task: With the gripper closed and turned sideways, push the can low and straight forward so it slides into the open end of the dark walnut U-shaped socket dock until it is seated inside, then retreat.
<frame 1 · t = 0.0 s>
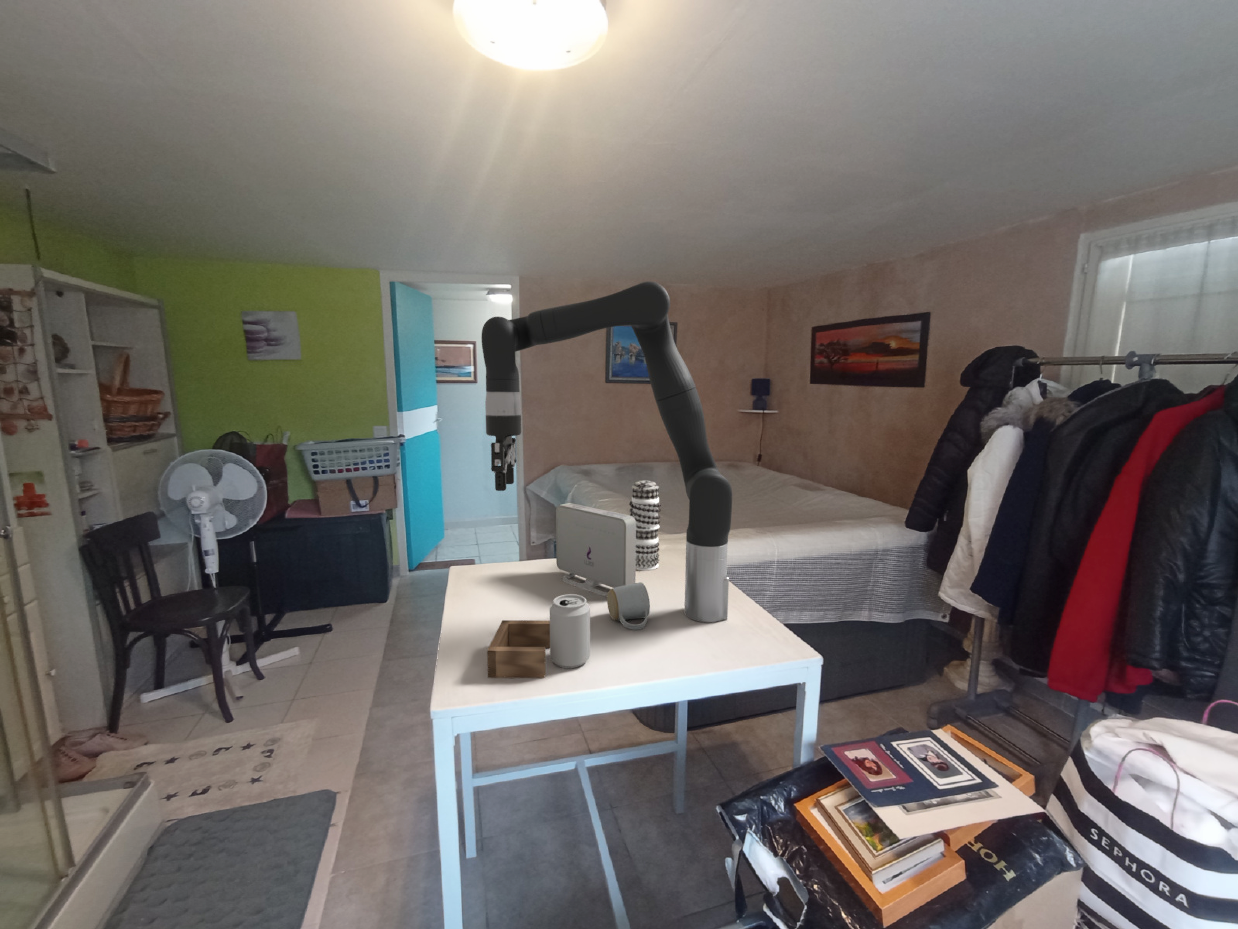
hand: (505, 487, 115), 29 cm above the table, fingers open, 8 cm apart
ceramic mug: (631, 621, 117), on the table
can: (570, 661, 99), on the table
decorative candle: (644, 566, 153), on the table
dock: (522, 659, 99), on the table
network device: (594, 584, 138), on the table
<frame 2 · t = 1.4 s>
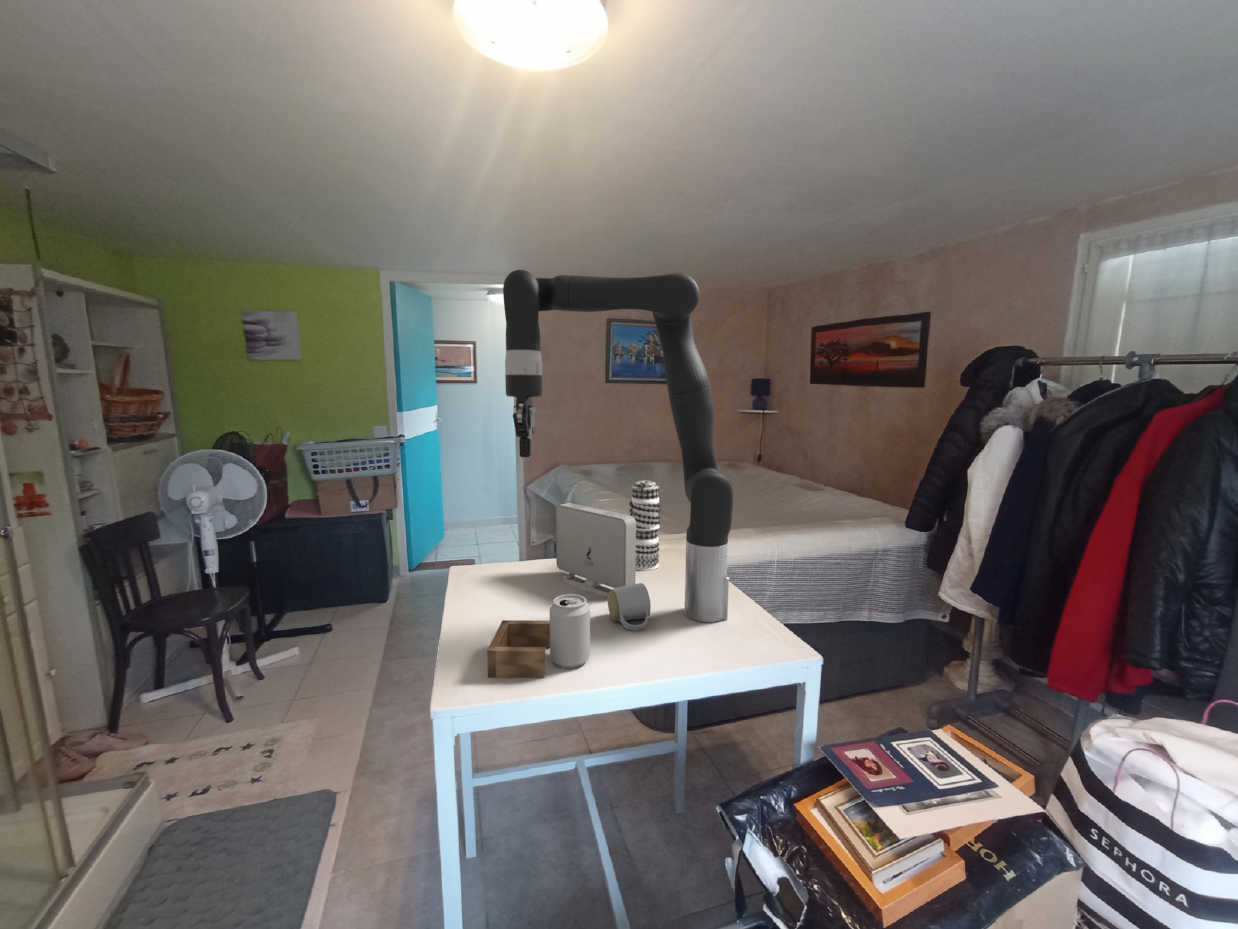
hand: (525, 456, 110), 37 cm above the table, fingers closed
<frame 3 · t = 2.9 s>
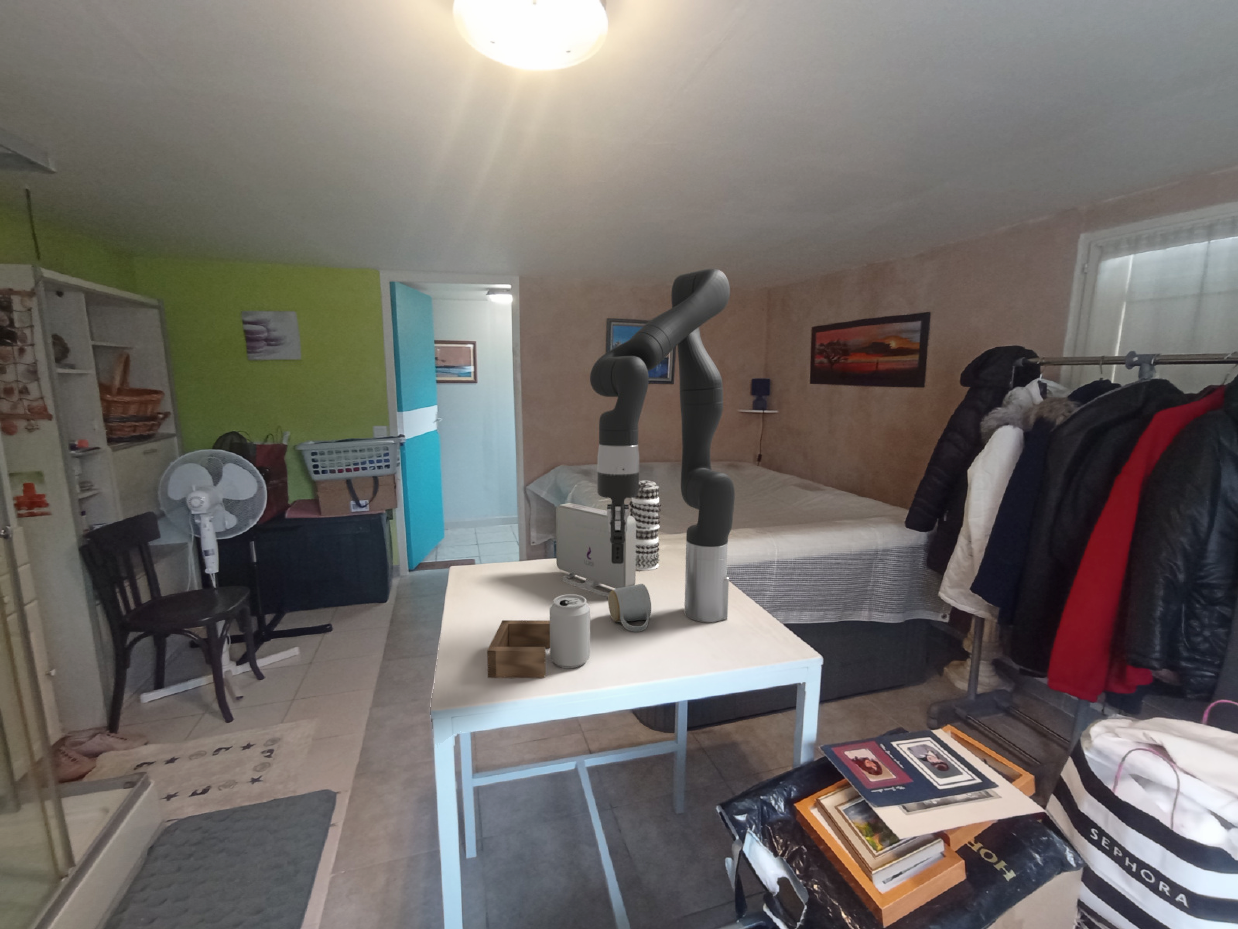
hand: (617, 562, 96), 19 cm above the table, fingers closed
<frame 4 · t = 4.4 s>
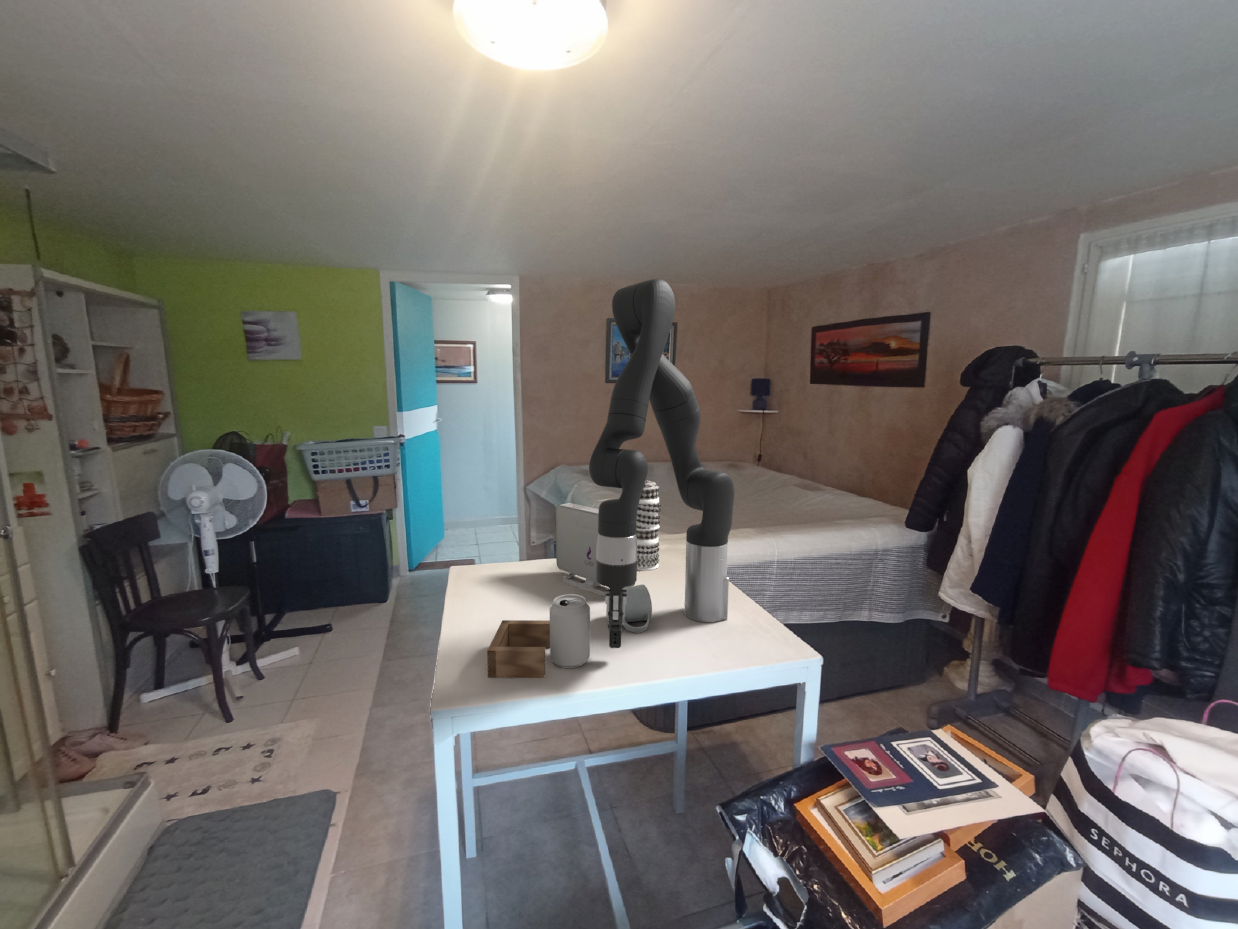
hand: (615, 646, 98), 3 cm above the table, fingers closed
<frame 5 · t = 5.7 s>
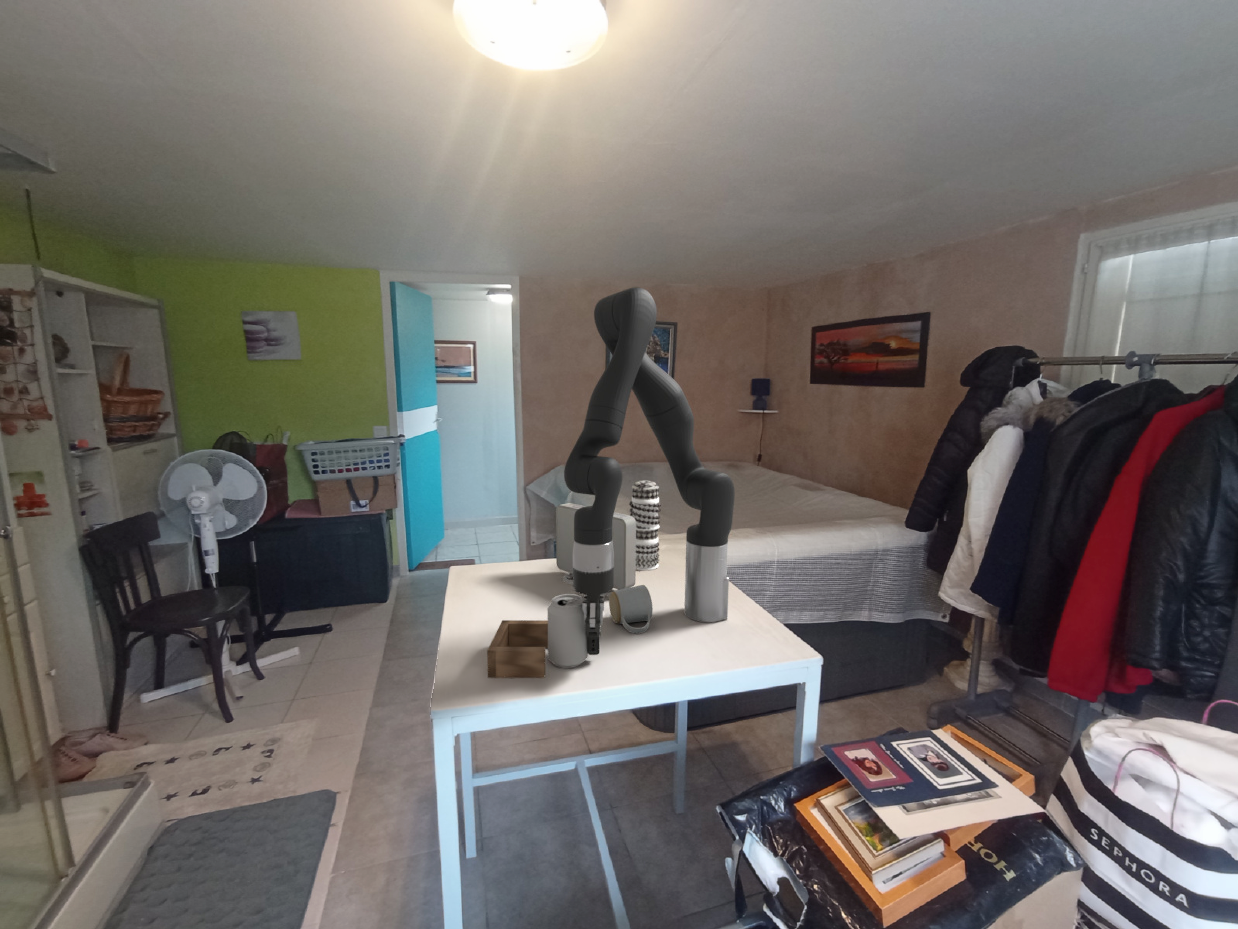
hand: (593, 652, 98), 2 cm above the table, fingers closed
can: (568, 661, 99), on the table, touching gripper
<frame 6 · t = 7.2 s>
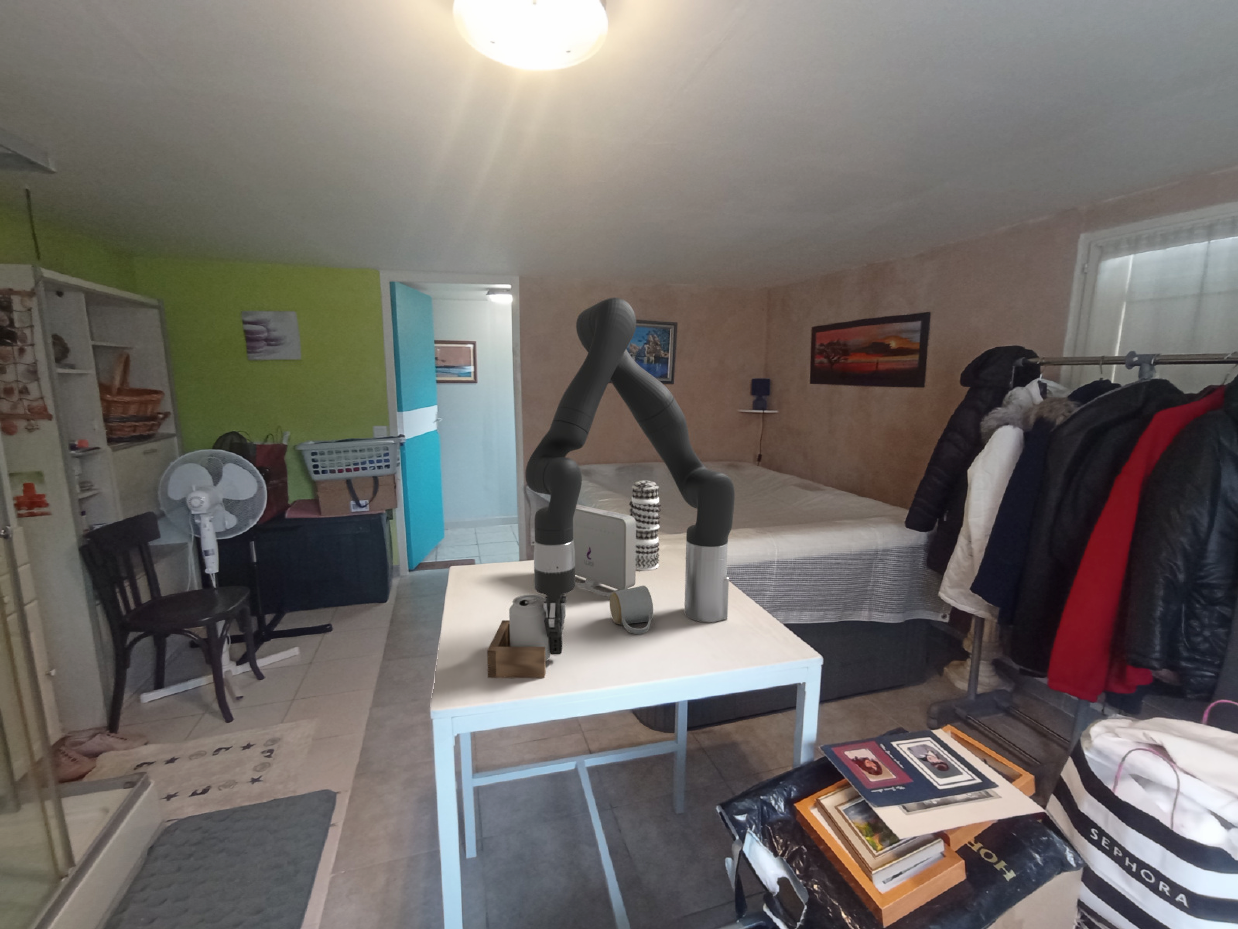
hand: (556, 652, 99), 1 cm above the table, fingers closed
can: (530, 661, 99), on the table, touching gripper
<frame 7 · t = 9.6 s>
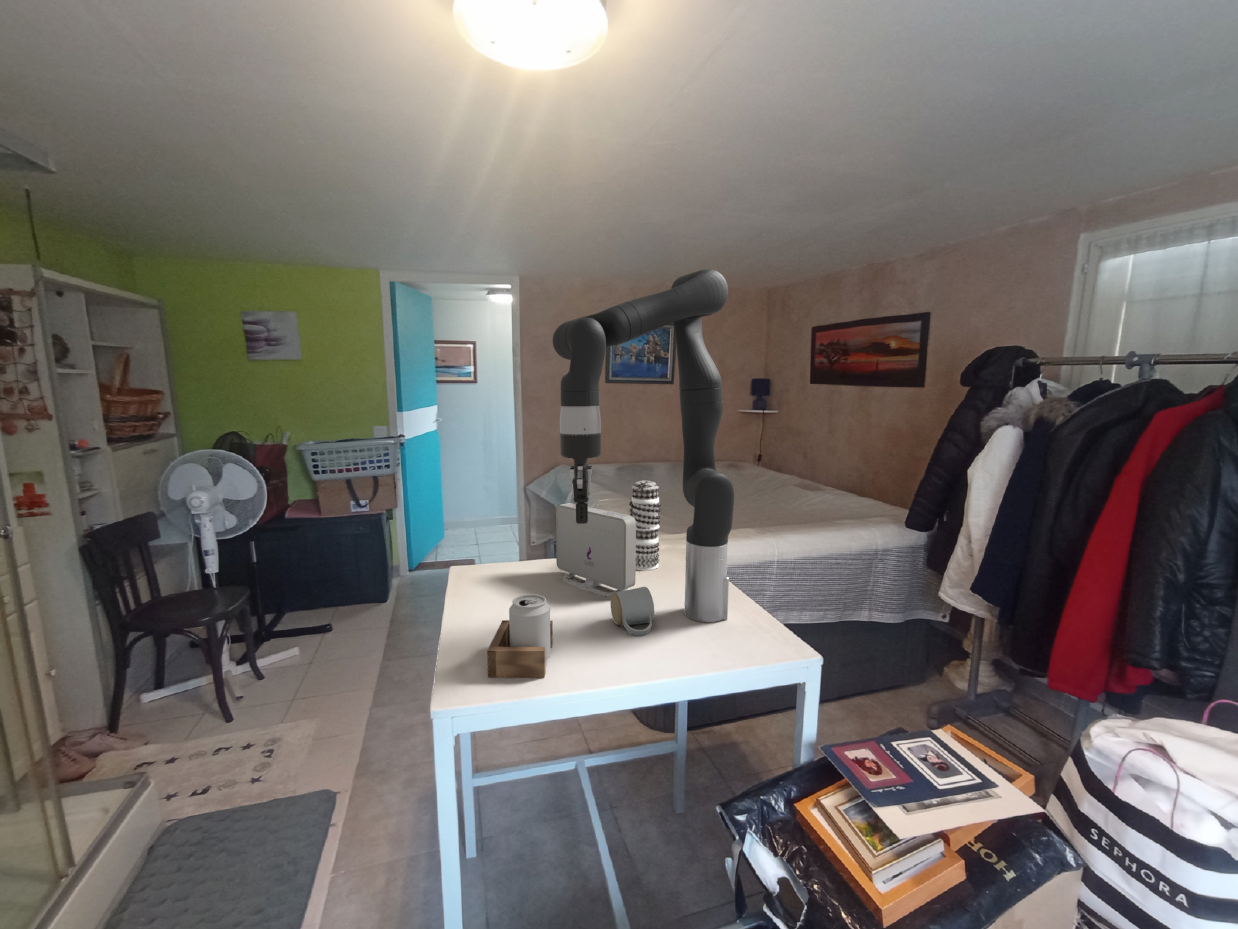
hand: (582, 522, 99), 26 cm above the table, fingers closed
can: (530, 661, 99), on the table
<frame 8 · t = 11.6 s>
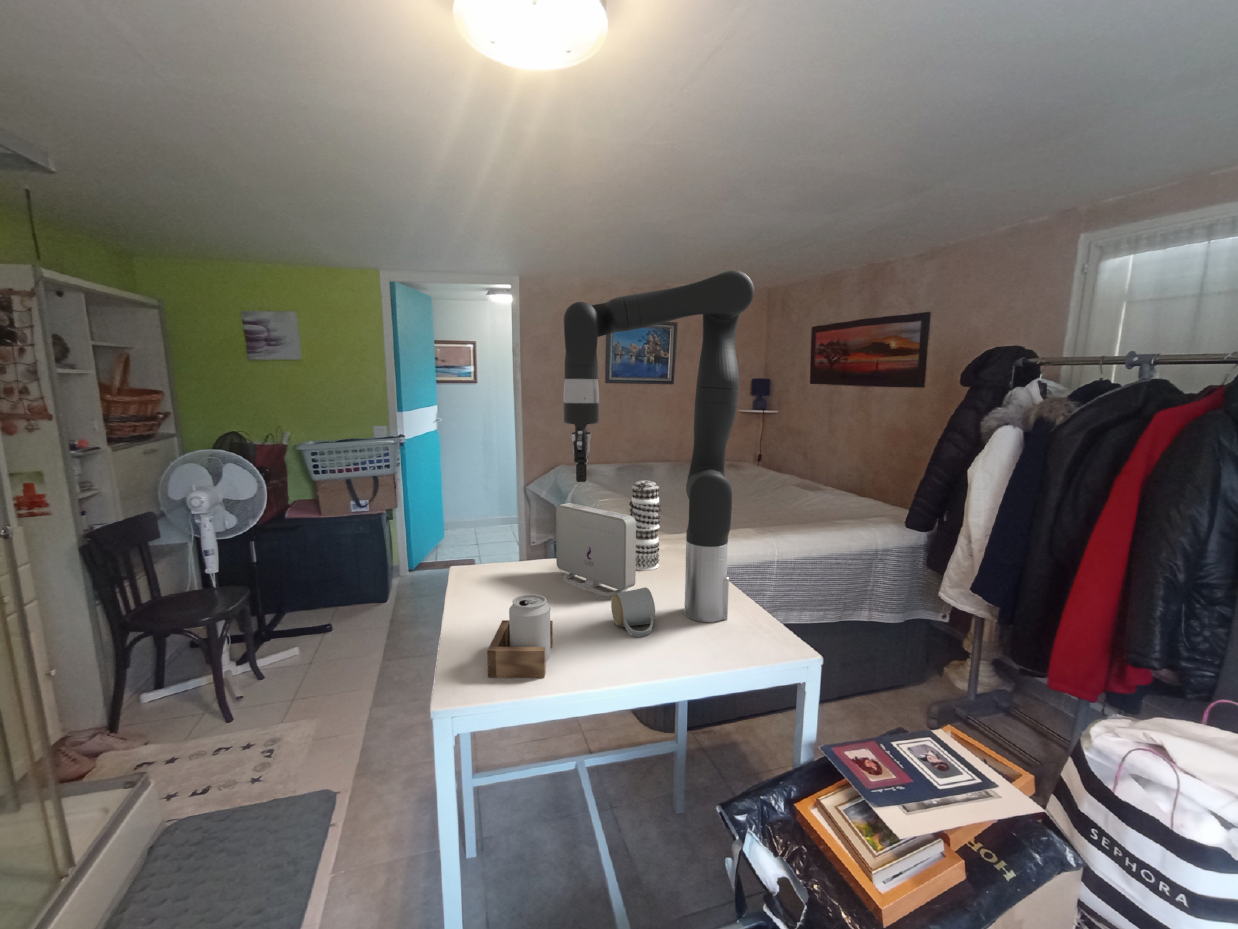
hand: (581, 481, 113), 31 cm above the table, fingers closed
at the end: can 0.2 cm from the target spot on the dock, point 0.0 cm above the dock's base; can tilted 0°; the gripper is holding nothing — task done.
